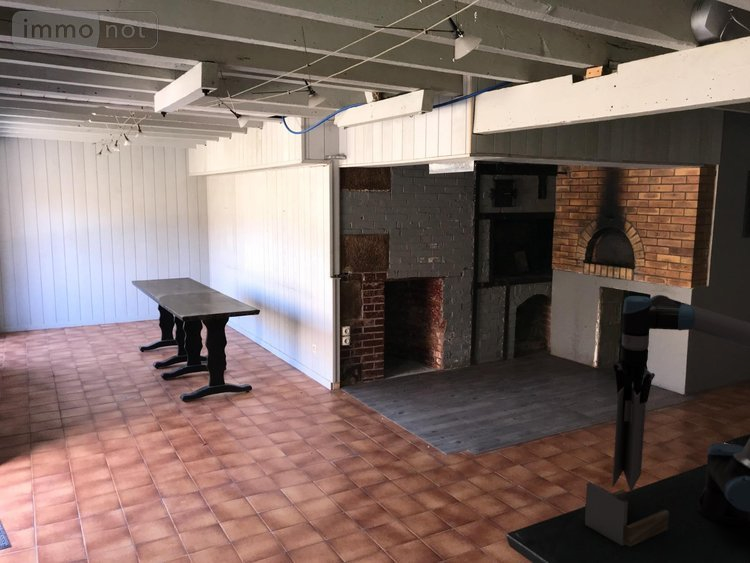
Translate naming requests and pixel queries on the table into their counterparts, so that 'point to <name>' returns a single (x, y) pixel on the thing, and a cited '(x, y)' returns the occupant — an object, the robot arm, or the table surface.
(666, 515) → the slot rails
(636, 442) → the brochure
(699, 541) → the table surface
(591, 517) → the bookend
